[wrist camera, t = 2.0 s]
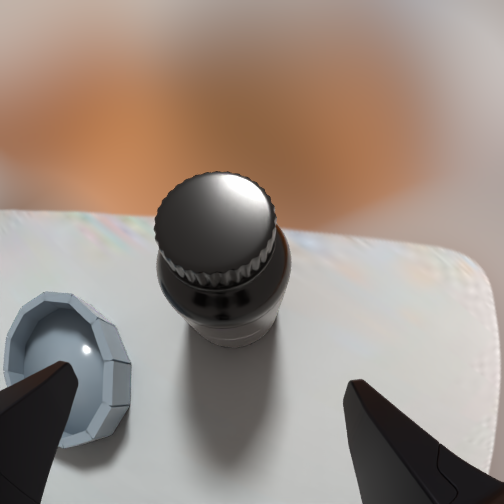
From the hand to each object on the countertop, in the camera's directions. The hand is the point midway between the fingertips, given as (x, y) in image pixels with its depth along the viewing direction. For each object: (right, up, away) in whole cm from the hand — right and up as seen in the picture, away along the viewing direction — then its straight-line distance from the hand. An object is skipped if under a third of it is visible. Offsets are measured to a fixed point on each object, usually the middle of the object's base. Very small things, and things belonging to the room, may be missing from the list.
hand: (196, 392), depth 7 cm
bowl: (-14, -6, +11) cm, 19 cm away
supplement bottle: (0, 0, +14) cm, 14 cm away
